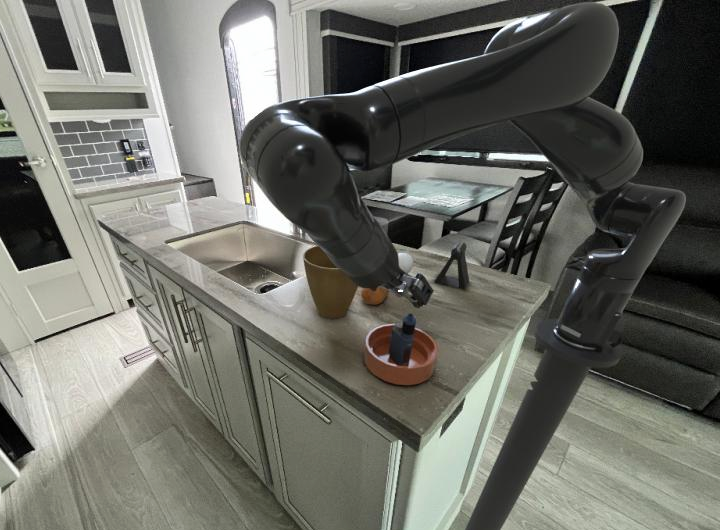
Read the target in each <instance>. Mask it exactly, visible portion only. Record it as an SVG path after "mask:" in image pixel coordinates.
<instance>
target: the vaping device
mask: <svg viewBox="0 0 720 530" xmlns="http://www.w3.org/2000/svg"><path fill="white" fill-rule="evenodd" d="M394 324H395V326H394V327H393V329H392V333H391V340H390V348H389V354H390V355H389V356H390V358H391V359H392V360H393V361H394V362H395V363H396V364H397V365H399V366H408V365H409V361H410V356H411V350H412V345H413V339H414V331H415V328H416V325H417V318H416V317H415V316H414V314H413V313H408V314H407V315H405V316H404V317H403V318H402V322H401V321H397V322H395V323H394Z"/></svg>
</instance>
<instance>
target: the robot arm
mask: <svg viewBox="0 0 720 530" xmlns="http://www.w3.org/2000/svg"><path fill="white" fill-rule="evenodd" d="M619 33H620V28H619V21H618V18H617V15H616V13H615V12H614V11H613V9H612V8H611V7H610V6H608V5H605V4H603V3H601V2H594V1H593V2H592V1H588V2H586V1H585V2H579V3H575V4H573V3H572V4H568V5H565V6H561V7H558V8H554V9H550V10H546V11H542V12H540V13H534V14H530V15H527V16H524V17H522V18H519V19H516V20H514V21H513V22H510V23H509V24H507V25H505V26H503V28H501V29H500V30H499V31H498V32H496V33H495V34H494V35H493V37H492V38H491V40H490V41H489V43H488V45H487V46H486V48H485V50H484V52H483V54H482V55H478V56H474V57H469V58H465V59H461V60H455V61H451V62H446V63H443V64H438V65H434V66H429V67H426V68H422V69H419V70H415V71H411V72H408V73H405V74H401V75H398V76H395V77H393V78H390V79H387V80H384V81H381V82H378V83H375V84H373V85H370V86H367V87H364V88H362V89H360V90H357V91H353V92H350V93H339V94H325V95H319V96H318V95H317V96H311V97H310V96H309V97H303V98H301V97H300V98H296V99H295V98H294V99H289V100H285V101H281V102H278V103H275V104H272V105H270V106H267V107H265V108H264V109H262V110H260V111H259V112H257V113H256V114H255V115H254V116H253V117H251V118H250V120H249V121H248V122H247V123H246V125H245V126H244V127H243V130H242V132H241V134H240V137H239V141H238V142H239V143H238V145H239V146H238V150H239V157H240V160H241V163H242V165H243V167H244V169H245V171H246V172H247V173H248V175H249V176H250V178H251V179H252V180H253V181H254V183H255V184H256V185H257V187H258V188H259V189H260V191H261V192H262V193H263V194H264V196H265V197H266V199H268V201H269V202H270V203H271V205H273V207H275V209H276V210H277V211H279V213H280V214H281V215H282V216H283V217H285V218H286V220H288V221H289V222H290V223H292V225H294V226H296V228H298V229H299V230H301V231H302V232H304V233H305V234H307V236H308V237H309V238H310V239H311V240H312V241H313V242H314V243H315V244H316V246H319V247H320V248H321V249H322V250H323V251H324V252H325V253H326V254H327V256H328V257H329V259H330V260H331V261H332V262H333V263H334V265H335V266H336V267H338V268H339V269H340V270H341V271H342V272H343V273H344V274H345V275H346V276H347V277H348V278H349V279H350V280H351V281H352V282H353V283H354V284H356V285H357V286H358V288H361V289H362V288H369V289H370V290H371V291H374V292H375V291H376V289H377V287H380V288H382V289H386V290H388V291H390V292H389V293H391V294H393V295H394V296H396V297H398V298H406V299H407V300H408V301H409V303H411V305H412V306H413V307H414V308H416V309H420V308H423V307H424V306H427V305H428V303H429V302H430V299H431V297H432V295H433V293H434V289H433V287H432V285H431V284H430V283H429V282H428V280H427V278H426V277H425V275H423V274H422V273H418V272H416V273H415V275H414V277H413V276H412V275H411V274H409V273H408V274H407V273H406V272H404V271H403V270H402V269H400V266H399V258H398V254H399V253H398V250H397V248H396V247H395V246H394V244H393V242H392V240H391V239H390V238H389V236H388V233H387V234H386V233H385V231H384V229H383V228H382V226H381V225H380V223H379V222H378V221H377V220H376V218H375V217H376V216H374V215H373V214H372V213H371V211H370V209H369V208H368V206H367V204H366V203H365V202H364V200H363V199H362V197H361V196H360V194H359V192H358V188H357V186H356V183H355V180H354V176H353V175H352V174H353V173H352V172H351V170H350V169H352V170H355V171H357V172H362V173H372V172H376V171H379V170H382V169H384V168H387V167H389V166H392V165H394V164H397V163H399V162H402V161H404V160H407V159H408V158H411V157H414V156H416V155H418V154H420V153H423V152H425V151H427V150H431V149H433V148H435V147H437V146H440V145H442V144H444V143H447V142H450V141H452V140H455V139H457V138H461V137H463V136H466V135H468V134H471V133H474V132H477V131H480V130H484V129H486V128H489V127H492V126H495V125H498V124H502V123H504V122H505V123H506V122H509V123H510V124H511V125H513V126H514V127H515V128H517V130H518V131H520V132H521V133H523V135H525V136H526V137H527V138H528V139H529V141H531V142H532V144H534V146H535V147H536V148H537V150H538V151H539V152H540V153H541V154H542V155H543V156H544V157H545V159H546V160H548V162H549V163H550V164H551V166H553V168H554V169H555V171H556V173H557V174H558V175H559V176H560V177H561V178H562V180H563V181H564V182H565V183H566V184H567V185H568V187H569V188H571V189H572V190H573V191H574V193H575V194H576V196H577V197H578V198H579V200H581V202H582V203H583V204H584V206H585V208H586V210H587V212H588V214H589V217H590V218H591V221H592V223H593V224H594V225H595V227H596V228H598V229H599V230H600V231H602V232H604V233H608V234H612V235H616V236H618V237H622V238H626V239H631V240H630V242H629V243H628V244H627V246H626V247H621V248H608V247H607V248H597V249H593V250H591V251H589V252H588V253H587V255H586V257H585V258H584V261H583V264H582V266H581V268H580V270H579V273H578V275H577V277H576V279H575V281H574V284H573V286H572V288H571V290H570V293H569V295H568V297H567V299H566V301H565V304H564V306H563V309H562V311H561V313H560V315H559V317H558V318H557V319H558V322H557V323H556V326H555V327H554V329H553V334H554V336H555V337H556V338H557V339H558V340H560V341H561V342H563V343H565V344H566V345H569V346H571V347H573V348H576V349H580V350H585V351H595V352H598V353H601V352H602V350H603V348H604V347H605V345H606V343H607V341H609V342H612V344H610V345H611V346H612V347H613V348H614V347H616V346H618V345H620V346H621V345H622V343H623V342H624V341H625V335H624V332H623V330H624V324H625V321H622V320H621V318H622V315H623V311H624V309H625V308H626V306H627V304H628V302H629V300H630V299H631V298H632V296H633V293H634V291H635V289H636V288H637V286H638V284H639V282H640V281H641V279H642V277H643V275H644V274H645V271H646V270H647V268H648V267H649V266H650V264H651V263H652V261H653V260H654V258H655V257H656V255H657V254H658V251H659V249H660V248H661V246H662V245H663V243H664V242H665V240H666V238H667V237H668V236H669V234H670V232H671V231H672V230H673V228H674V227H675V225H676V223H677V222H678V220H679V218H680V217H681V216H682V213H683V211H684V209H685V205H686V203H687V196H686V194H685V193H684V191H681V190H679V189H675V188H668V187H662V186H654V185H647V184H642V183H641V184H640V183H634V182H630V181H631V180H632V179H633V178H634V176H636V174H637V173H638V171H639V169H640V167H641V166H642V162H643V159H644V148H643V146H642V142H641V140H640V138H639V136H638V134H637V132H636V130H635V127H634V126H633V125H632V123H631V121H630V120H629V119H628V118H627V117H626V116H625V115H623V114H622V113H620V112H619V111H617V110H615V109H614V108H612V107H610V106H608V105H606V104H604V103H602V102H600V101H598V100H596V99H593V98H592V97H590V96H591V95H592V94H593V93H594V92H595V91H596V89H597V88H599V86H600V85H601V83H602V82H603V80H604V79H605V77H606V76H607V74H608V72H609V70H610V68H611V66H612V64H613V61H614V58H615V55H616V53H617V52H616V51H617V48H618V43H619ZM400 285H401V287H400V289H396V288H397V287H398V286H400Z"/></svg>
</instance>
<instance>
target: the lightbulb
mask: <svg viewBox="0 0 720 530" xmlns="http://www.w3.org/2000/svg"><path fill="white" fill-rule="evenodd" d="M398 258H399V266H400V269H402V270H403V271H404V272H406V273H407V274H409V273H410V272H411V271H412V270H413V267H414V260H413V257H412V256H411V254H409V253H406V252H399V253H398ZM400 287H401V285H400V286H398V287H396V288H397V290H399V289H400Z"/></svg>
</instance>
